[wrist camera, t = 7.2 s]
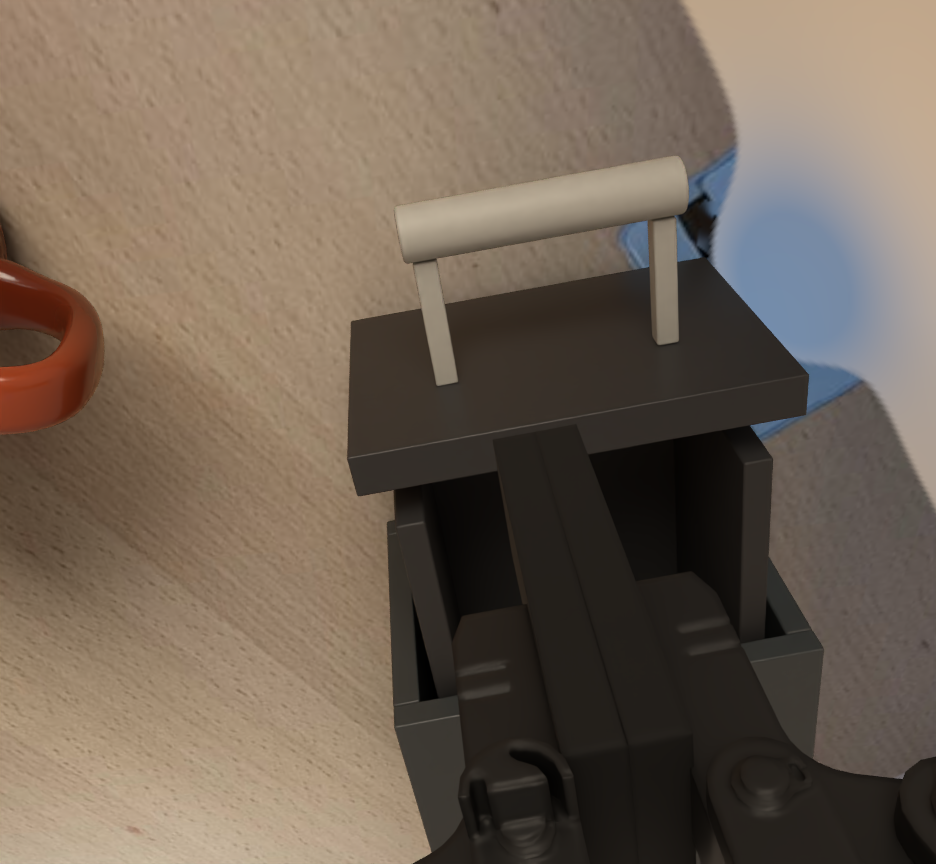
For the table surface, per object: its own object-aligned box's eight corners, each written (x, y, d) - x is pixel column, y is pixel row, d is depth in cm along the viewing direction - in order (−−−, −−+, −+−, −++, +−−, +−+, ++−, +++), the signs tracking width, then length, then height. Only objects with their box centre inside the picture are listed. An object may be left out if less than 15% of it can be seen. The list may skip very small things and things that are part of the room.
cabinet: (386, 521, 33) (393, 727, 25) (713, 461, 33) (825, 648, 25) (448, 762, 41) (469, 978, 33) (713, 714, 41) (797, 917, 33)
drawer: (313, 167, 25) (295, 270, 19) (704, 96, 25) (824, 175, 19) (425, 623, 35) (439, 795, 29) (706, 572, 35) (784, 732, 29)
